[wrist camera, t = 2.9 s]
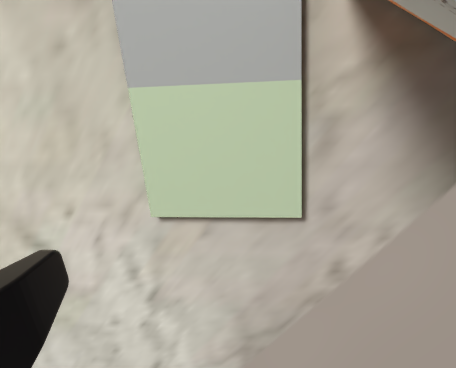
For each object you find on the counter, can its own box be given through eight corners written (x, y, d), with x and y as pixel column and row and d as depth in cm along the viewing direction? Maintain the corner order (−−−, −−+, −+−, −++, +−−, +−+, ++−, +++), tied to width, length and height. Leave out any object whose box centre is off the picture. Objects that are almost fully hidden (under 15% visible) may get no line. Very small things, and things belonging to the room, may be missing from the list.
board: (301, -111, 16) (301, -113, 15) (301, 211, 22) (301, 217, 21) (102, -87, 17) (95, -89, 17) (154, 211, 23) (151, 216, 23)
